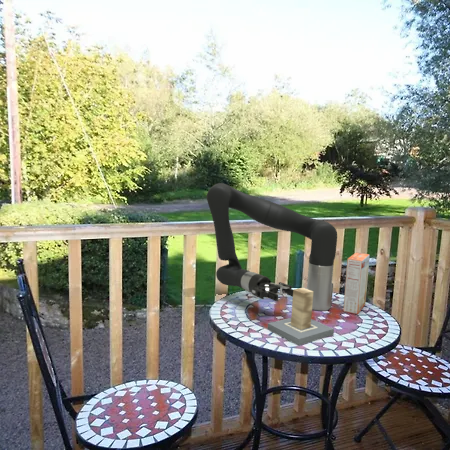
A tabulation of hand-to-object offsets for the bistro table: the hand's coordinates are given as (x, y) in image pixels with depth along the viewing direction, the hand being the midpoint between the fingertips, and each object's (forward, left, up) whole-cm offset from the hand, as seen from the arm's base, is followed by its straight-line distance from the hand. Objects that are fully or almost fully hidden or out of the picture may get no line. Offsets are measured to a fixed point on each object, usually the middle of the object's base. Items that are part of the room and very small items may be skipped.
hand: (286, 296), depth 136 cm
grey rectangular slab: (0, +7, -10) cm, 12 cm away
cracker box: (-36, +1, -10) cm, 37 cm away
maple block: (0, +7, -8) cm, 11 cm away
